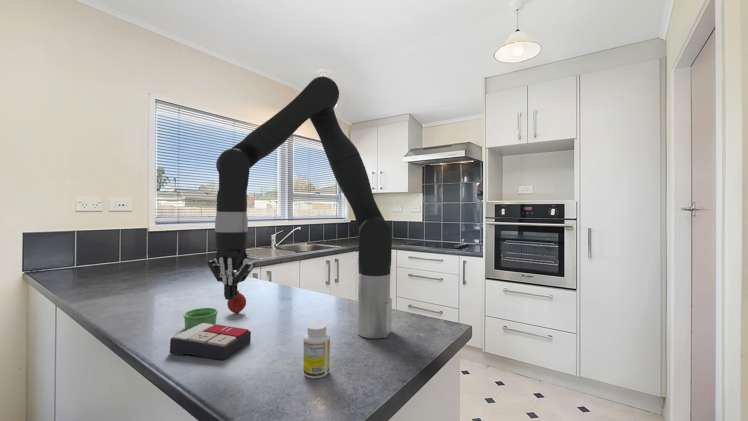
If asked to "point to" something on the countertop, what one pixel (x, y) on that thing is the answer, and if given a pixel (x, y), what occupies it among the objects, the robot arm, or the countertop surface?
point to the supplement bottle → (316, 351)
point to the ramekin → (200, 317)
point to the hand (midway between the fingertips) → (230, 299)
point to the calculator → (210, 341)
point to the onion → (237, 303)
